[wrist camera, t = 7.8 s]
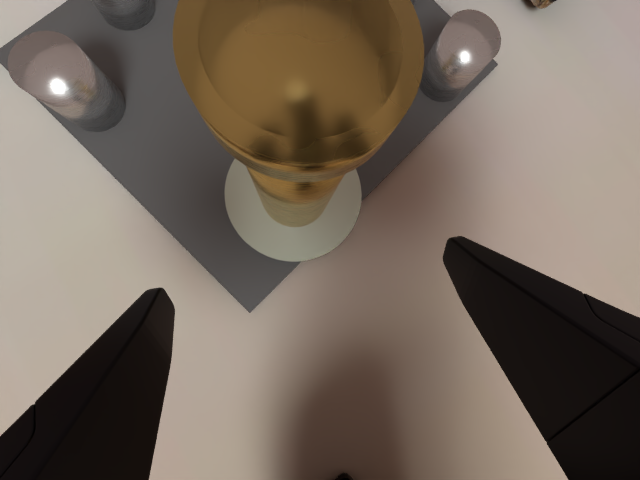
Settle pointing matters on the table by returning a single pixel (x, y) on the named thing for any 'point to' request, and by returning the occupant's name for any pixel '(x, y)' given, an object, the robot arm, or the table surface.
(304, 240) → the pad
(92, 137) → the mat
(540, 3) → the stone
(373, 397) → the table surface
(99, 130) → the spacers
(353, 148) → the brass sleeve
